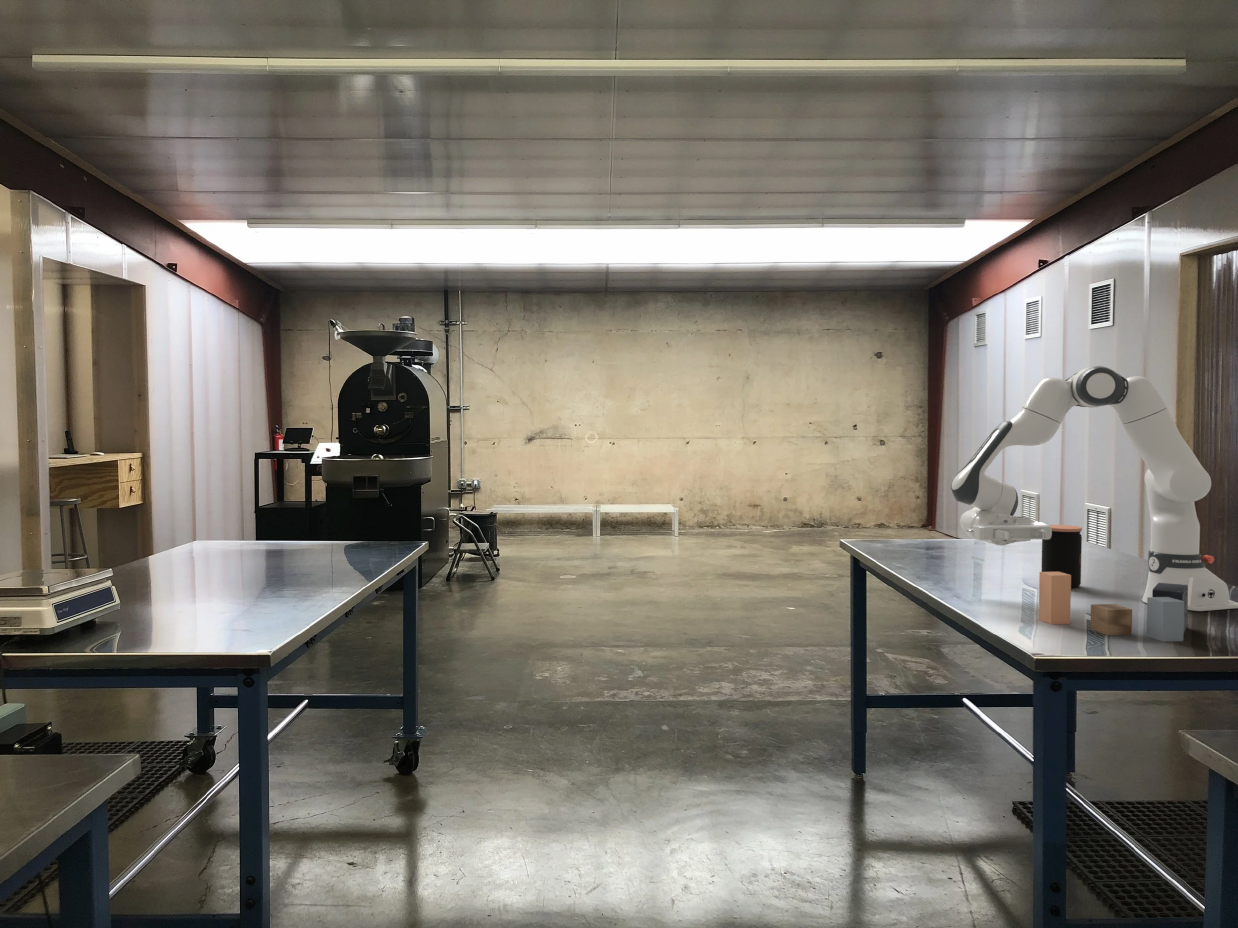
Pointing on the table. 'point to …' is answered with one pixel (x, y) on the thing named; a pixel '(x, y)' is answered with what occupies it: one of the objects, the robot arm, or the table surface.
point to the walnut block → (1111, 619)
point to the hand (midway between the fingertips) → (1027, 535)
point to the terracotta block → (1054, 597)
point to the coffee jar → (1063, 552)
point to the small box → (1174, 595)
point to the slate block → (1165, 618)
